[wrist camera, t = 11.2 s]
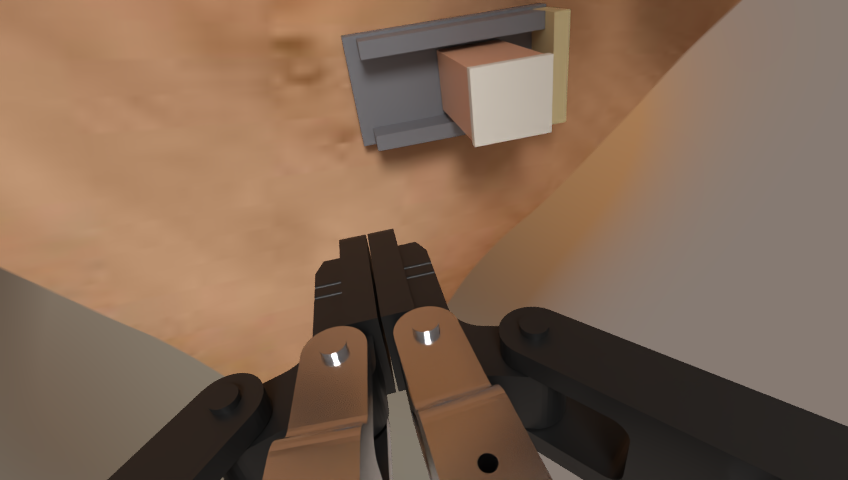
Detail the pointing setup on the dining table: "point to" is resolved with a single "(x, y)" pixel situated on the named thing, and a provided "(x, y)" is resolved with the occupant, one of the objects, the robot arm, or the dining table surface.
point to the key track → (419, 74)
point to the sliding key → (497, 90)
